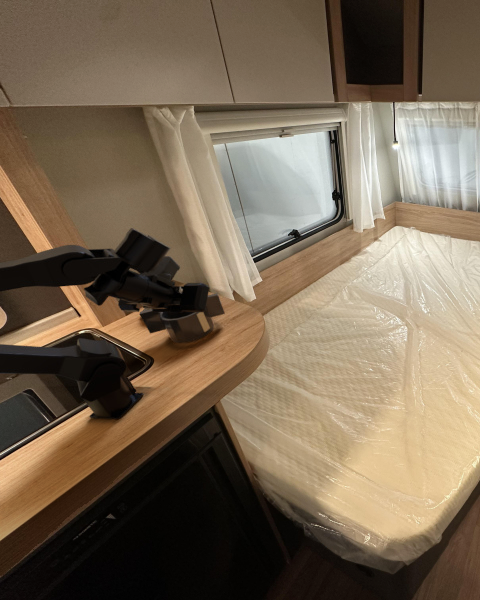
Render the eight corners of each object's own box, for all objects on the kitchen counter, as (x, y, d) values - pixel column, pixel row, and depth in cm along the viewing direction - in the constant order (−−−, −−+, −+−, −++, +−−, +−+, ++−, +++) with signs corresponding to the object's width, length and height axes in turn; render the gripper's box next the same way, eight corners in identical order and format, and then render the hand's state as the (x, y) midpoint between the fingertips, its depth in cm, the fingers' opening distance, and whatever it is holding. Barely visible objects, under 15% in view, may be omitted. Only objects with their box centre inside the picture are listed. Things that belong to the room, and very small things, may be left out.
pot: (229, 330, 86) (218, 302, 81) (152, 352, 79) (135, 323, 74) (227, 313, 94) (217, 286, 89) (158, 331, 87) (143, 303, 83)
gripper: (186, 249, 63) (233, 275, 78) (102, 250, 65) (164, 275, 80) (175, 303, 61) (225, 319, 76) (87, 302, 62) (154, 318, 77)
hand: (192, 306), depth 77 cm, fingers closed
